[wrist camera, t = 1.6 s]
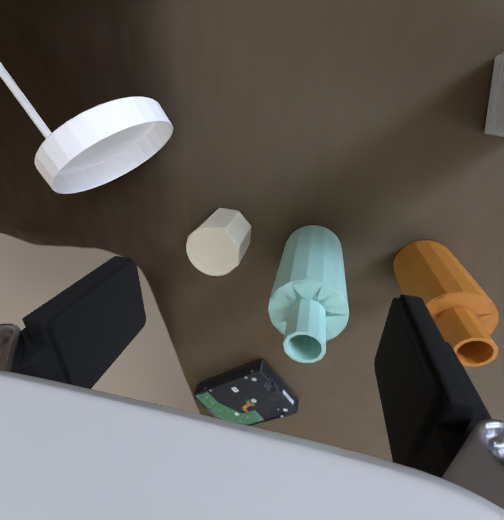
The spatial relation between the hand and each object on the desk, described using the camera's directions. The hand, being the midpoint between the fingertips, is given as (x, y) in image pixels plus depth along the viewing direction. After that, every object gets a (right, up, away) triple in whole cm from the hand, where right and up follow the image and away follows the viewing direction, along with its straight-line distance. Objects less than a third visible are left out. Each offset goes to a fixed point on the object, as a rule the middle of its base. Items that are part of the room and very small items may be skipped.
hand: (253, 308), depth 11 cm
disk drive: (-1, -20, +39) cm, 44 cm away
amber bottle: (+19, +1, +22) cm, 29 cm away
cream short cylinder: (-3, +5, +25) cm, 26 cm away
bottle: (+7, +3, +24) cm, 25 cm away
